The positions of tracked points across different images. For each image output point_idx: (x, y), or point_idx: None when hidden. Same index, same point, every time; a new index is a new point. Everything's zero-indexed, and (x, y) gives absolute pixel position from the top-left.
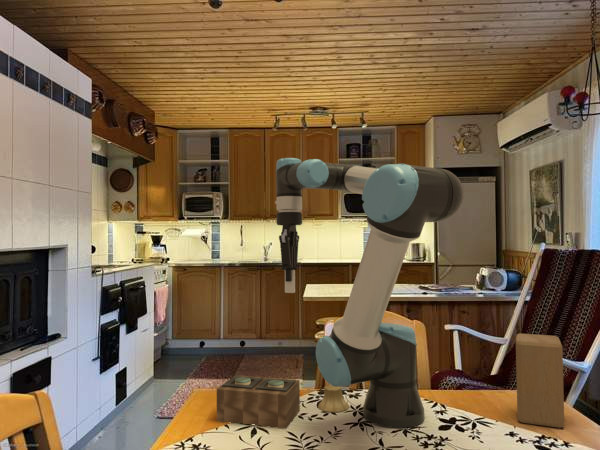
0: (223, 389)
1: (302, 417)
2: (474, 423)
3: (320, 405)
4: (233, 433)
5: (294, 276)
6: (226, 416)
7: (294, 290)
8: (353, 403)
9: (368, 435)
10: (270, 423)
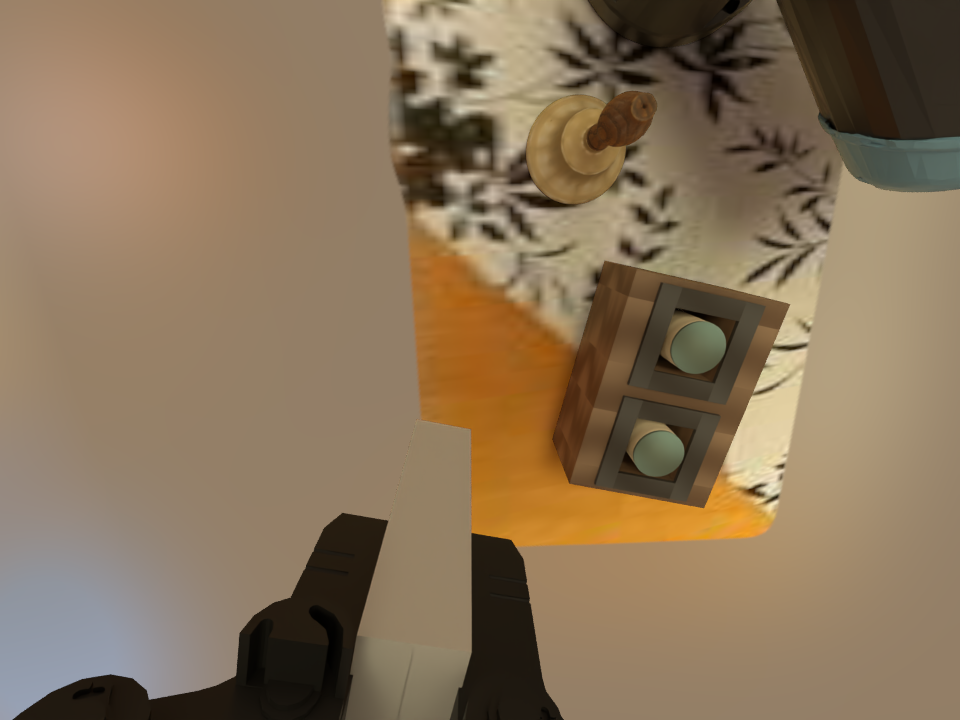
0: (711, 489)
1: (654, 249)
2: None
3: (589, 195)
4: None
5: (416, 543)
6: None
7: (442, 434)
8: (544, 76)
9: None
10: None
